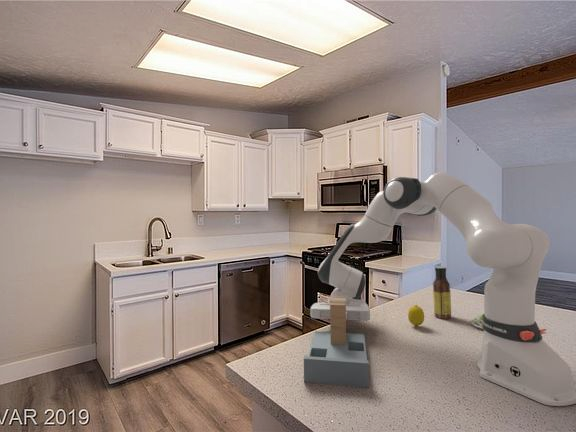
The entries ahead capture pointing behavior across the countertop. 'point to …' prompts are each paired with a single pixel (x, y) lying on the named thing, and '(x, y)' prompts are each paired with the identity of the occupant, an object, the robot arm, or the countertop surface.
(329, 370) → the deck
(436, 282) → the sauce bottle
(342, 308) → the block
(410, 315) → the lemon
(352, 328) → the countertop surface
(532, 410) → the countertop surface
